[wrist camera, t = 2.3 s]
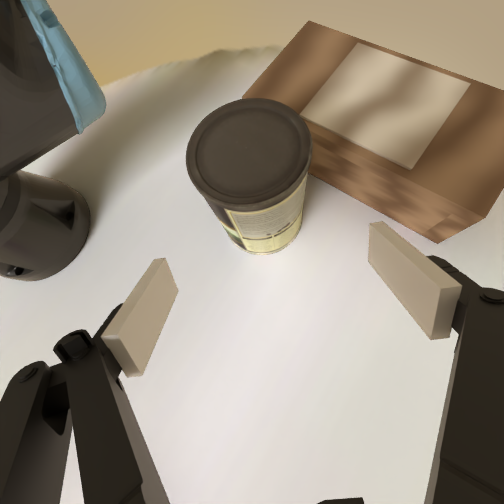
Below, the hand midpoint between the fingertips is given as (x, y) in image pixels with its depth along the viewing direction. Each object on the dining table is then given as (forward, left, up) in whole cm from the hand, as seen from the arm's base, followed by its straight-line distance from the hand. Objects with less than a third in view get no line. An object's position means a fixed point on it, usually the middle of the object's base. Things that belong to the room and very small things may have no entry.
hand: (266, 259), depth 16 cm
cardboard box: (-2, +23, -15) cm, 27 cm away
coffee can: (-7, +7, -15) cm, 18 cm away
